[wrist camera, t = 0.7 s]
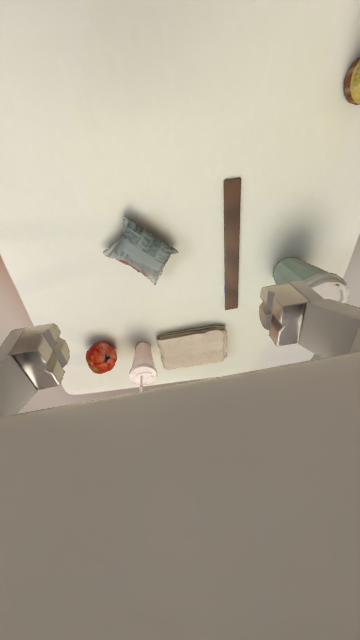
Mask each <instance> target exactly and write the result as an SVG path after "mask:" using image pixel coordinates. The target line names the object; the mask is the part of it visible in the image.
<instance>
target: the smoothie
mask: <svg viewBox="0 0 360 640" xmlns="http://www.w3.org/2000/svg"><path fill="white" fill-rule="evenodd" d="M129 374H130V380H131V381H132V382H134V383H135V384H139V385H140V392H141V391H142V385H146V384H150V383H152V382H153V381H154V380H155V379H156V377H157V370H156V368H155V366H154V362H153V358H152V353H151V349H150V345H149V344H147V343H139V344H138V345H137V346H136V350H135V355H134V360H133V364H132V368H131V370H130V373H129Z"/></svg>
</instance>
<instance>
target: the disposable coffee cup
mask: <svg viewBox="0 0 360 640" xmlns="http://www.w3.org/2000/svg"><path fill="white" fill-rule="evenodd" d="M273 277H274V280H275V283H276V285H277V284H282V283H287V282H292V281H296V280H302V281H304V282H305V283H306V284H307V285H308V286H309V287H311V288H312V289H313V290H314V291H315V292H317V293H318V294H319V295H320V296H321V297H322V298H324V299H331V300H335V301H338V302H342V303H346V301H347V300H348V298H349V295H348V287H347V286H346V282H345V281H344V280H343V279H342V278H341V277H339V276H338V275H337V274H334V273H329V272H326V271H324V270H322V269H320V268H318V267H315V266H313V265H311V264H309V263H306V262H304V261H302V260H300V259H297V258H286V259H284V260H282V261H280V262H279V263H278V264H277V265H276V266H275V268H274V272H273Z"/></svg>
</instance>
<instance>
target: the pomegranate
mask: <svg viewBox="0 0 360 640" xmlns="http://www.w3.org/2000/svg"><path fill="white" fill-rule="evenodd" d="M86 360H87V362H88V365H89V367H90V369H91V370H92V371H93V372H94V373H97V374H102V373H105V372H107V371H110V370H111V369H112V368H113V367H114V365H115V362H116V360H117V355H116V351H115V349H114V348H113V347H110V346H109V345H108V344H107V343H104V342H98V343H95V344H94V345H93V346H92V347H91V348H90V349H89V351H87V353H86Z"/></svg>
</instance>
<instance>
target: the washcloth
mask: <svg viewBox="0 0 360 640" xmlns="http://www.w3.org/2000/svg"><path fill="white" fill-rule="evenodd" d="M226 335H227V331H226V329H225V327H224V326H221V327H220V326H217V325H213V326H207V327H203V328H196V329H189V330H184V331H178V332H172V333H167V334H162V335H159V336H158V337H157V338H156V339H157V343H158V346H159V348H160V350H161V358H162V363H163V366H164V368H165V369H167V370H170V369H176V368H180V367H181V368H182V367H190V366H195V365H202V364H208V363H215V362H221V361H224V359H225V358H226V357H227V353H226V340H227V339H226V338H227V337H226Z"/></svg>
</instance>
